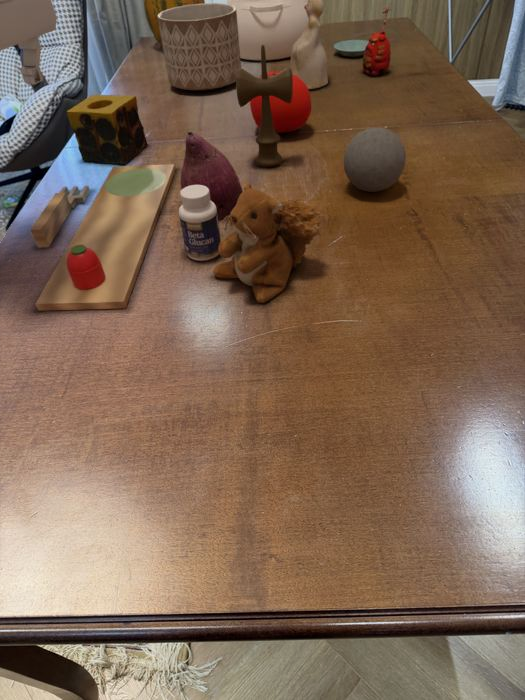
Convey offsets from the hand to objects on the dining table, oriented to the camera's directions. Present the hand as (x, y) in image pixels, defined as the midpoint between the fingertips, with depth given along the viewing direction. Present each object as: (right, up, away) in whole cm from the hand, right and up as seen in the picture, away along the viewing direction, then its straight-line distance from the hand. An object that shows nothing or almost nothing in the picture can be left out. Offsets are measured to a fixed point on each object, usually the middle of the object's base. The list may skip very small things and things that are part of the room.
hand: (7, 95), depth 58 cm
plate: (+7, 0, +34) cm, 34 cm away
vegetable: (+21, -5, +27) cm, 35 cm away
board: (+6, -10, +24) cm, 26 cm away
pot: (+32, +62, +96) cm, 118 cm away
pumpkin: (+3, +69, +106) cm, 127 cm away
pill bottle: (+21, -15, +17) cm, 31 cm away
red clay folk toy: (+60, +43, +74) cm, 105 cm away
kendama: (+31, +6, +38) cm, 49 cm away
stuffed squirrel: (+31, -19, +12) cm, 38 cm away
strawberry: (+6, -20, +11) cm, 24 cm away
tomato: (+33, +17, +49) cm, 62 cm away
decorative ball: (+48, -2, +28) cm, 56 cm away
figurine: (+41, +39, +71) cm, 91 cm away
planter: (+15, +41, +76) cm, 87 cm away
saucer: (+56, +57, +88) cm, 119 cm away
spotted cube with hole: (-1, +11, +46) cm, 47 cm away
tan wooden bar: (-5, -7, +27) cm, 29 cm away
